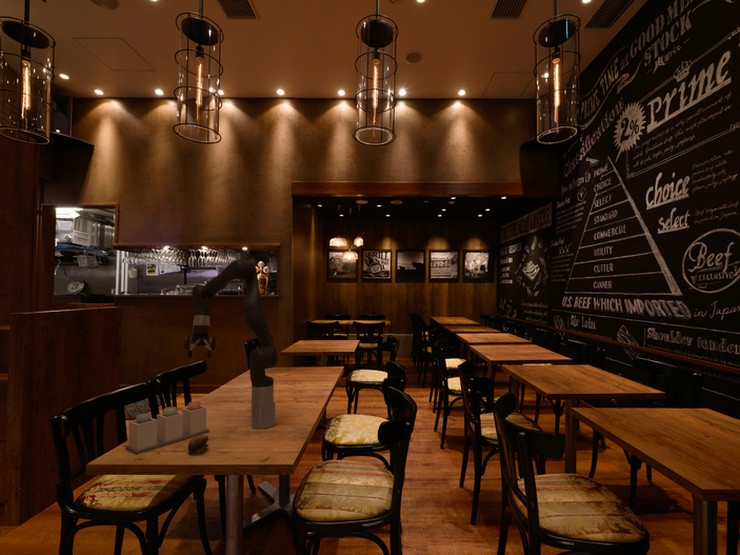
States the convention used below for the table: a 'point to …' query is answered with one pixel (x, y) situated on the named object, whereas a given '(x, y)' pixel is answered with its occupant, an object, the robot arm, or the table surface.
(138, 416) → the slate button
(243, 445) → the table surface
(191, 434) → the button stand
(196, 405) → the terracotta button
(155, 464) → the table surface
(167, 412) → the sage button
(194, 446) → the mushroom
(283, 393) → the table surface
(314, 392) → the table surface
